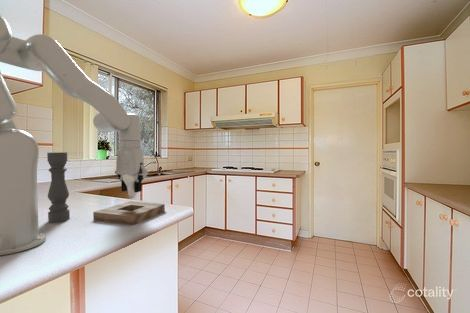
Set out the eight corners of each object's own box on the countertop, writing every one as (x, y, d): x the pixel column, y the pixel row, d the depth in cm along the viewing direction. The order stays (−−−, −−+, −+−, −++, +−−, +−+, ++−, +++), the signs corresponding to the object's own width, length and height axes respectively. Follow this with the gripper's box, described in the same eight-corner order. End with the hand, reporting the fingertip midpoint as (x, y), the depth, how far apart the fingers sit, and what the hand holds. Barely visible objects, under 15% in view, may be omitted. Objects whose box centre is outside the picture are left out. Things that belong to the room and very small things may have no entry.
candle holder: (57, 223, 78) (55, 152, 77) (43, 222, 79) (41, 152, 78) (73, 218, 84) (72, 152, 83) (60, 217, 85) (58, 152, 84)
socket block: (132, 225, 76) (132, 216, 76) (93, 219, 82) (93, 211, 82) (164, 211, 93) (164, 204, 93) (130, 207, 99) (130, 201, 99)
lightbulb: (128, 199, 83) (127, 170, 83) (120, 197, 87) (119, 169, 86) (143, 196, 88) (142, 169, 88) (135, 194, 92) (134, 168, 91)
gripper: (105, 145, 86) (106, 192, 86) (141, 145, 80) (142, 194, 81) (120, 145, 93) (122, 188, 94) (154, 145, 87) (156, 190, 88)
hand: (131, 190), depth 87 cm, fingers closed on lightbulb, 5 cm apart
